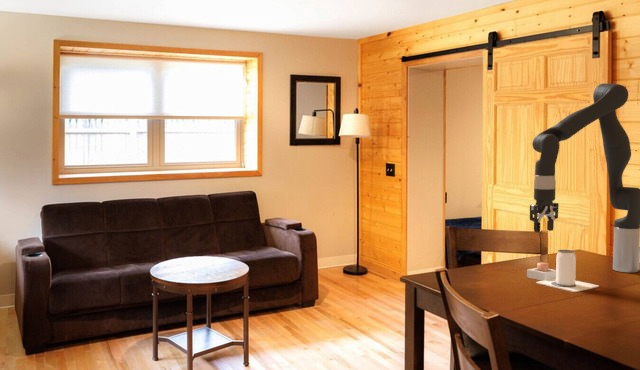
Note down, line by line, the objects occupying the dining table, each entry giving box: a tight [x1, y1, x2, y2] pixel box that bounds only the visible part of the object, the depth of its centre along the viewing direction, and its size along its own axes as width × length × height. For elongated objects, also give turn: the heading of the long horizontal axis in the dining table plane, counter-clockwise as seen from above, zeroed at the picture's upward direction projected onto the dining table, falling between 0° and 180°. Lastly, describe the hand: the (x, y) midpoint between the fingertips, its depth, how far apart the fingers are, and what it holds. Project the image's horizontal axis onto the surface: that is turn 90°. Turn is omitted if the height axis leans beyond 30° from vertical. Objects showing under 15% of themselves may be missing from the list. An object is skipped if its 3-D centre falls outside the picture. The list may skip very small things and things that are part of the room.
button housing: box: [526, 267, 556, 281], centre depth 232 cm, size 8×8×3 cm
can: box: [555, 249, 577, 286], centre depth 220 cm, size 6×6×12 cm
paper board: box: [535, 278, 600, 293], centre depth 221 cm, size 14×16×1 cm
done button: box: [536, 261, 550, 272], centre depth 232 cm, size 4×4×4 cm
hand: (543, 231), depth 231 cm, fingers open, 7 cm apart
